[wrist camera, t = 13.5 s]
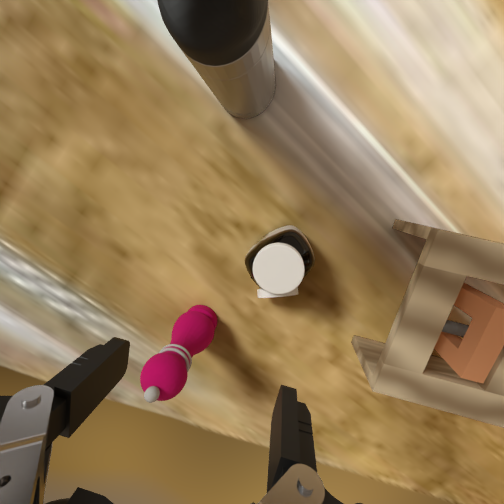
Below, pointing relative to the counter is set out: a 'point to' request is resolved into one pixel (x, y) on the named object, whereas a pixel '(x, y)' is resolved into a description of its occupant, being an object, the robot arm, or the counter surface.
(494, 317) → the orange notched plate
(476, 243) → the beige hollow rectangular block
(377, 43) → the counter surface
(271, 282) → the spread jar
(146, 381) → the pepper mill
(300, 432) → the robot arm
